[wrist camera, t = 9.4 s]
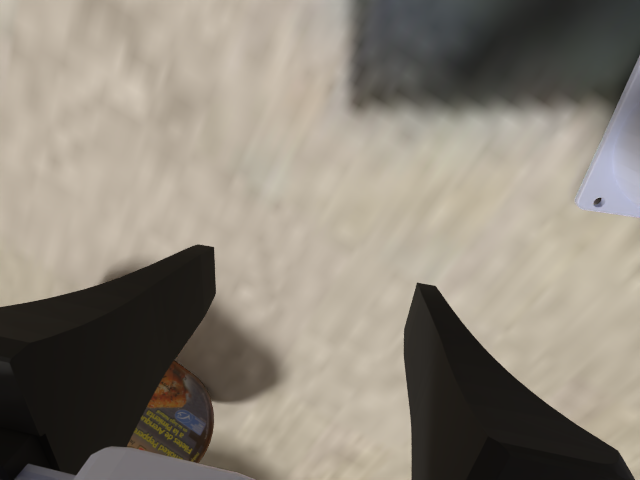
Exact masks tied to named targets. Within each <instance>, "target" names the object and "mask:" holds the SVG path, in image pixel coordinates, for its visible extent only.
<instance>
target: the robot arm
mask: <svg viewBox="0 0 640 480" xmlns="http://www.w3.org/2000/svg"><path fill="white" fill-rule="evenodd" d="M598 198H601V201H600V202H599V203H598V204H595V205H593V203H594V201H595V200H596V199H598ZM575 204H576V205H577V206H578V207H579V208H580V209H583V210H589V211H596V212H603V213H610V214H617V215H624V216H631V217H638V218H640V56H639V58H638V60H637V62H636V65H635V67H634V69H633V71H632V73H631V76H630V78H629V80H628V82H627V84H626V87H625V89H624V91H623V93H622V95H621V98H620V100H619V102H618V104H617V107H616V109H615V111H614V113H613V115H612V118H611V120H610V122H609V124H608V126H607V129H606V131H605V133H604V135H603V137H602V140H601V142H600V144H599V146H598V148H597V151H596V153H595V155H594V157H593V159H592V162H591V164H590V166H589V168H588V171H587V173H586V175H585V177H584V179H583V182H582V184H581V186H580V188H579V190H578V193H577V195H576V197H575ZM215 294H216V285H215V260H214V247H210V246H204V245H195V246H192V247H190V248H187V249H185V250H183V251H180V252H178V253H176V254H174V255H172V256H169V257H167V258H165V259H163V260H161V261H158V262H156V263H154V264H152V265H150V266H147V267H145V268H142V269H140V270H137V271H135V272H133V273H130V274H128V275H125V276H123V277H120V278H117V279H115V280H112V281H109V282H106V283H103V284H100V285H97V286H94V287H90V288H87V289H84V290H80V291H76V292H72V293H68V294H64V295H60V296H56V297H52V298H48V299H43V300H38V301H33V302H28V303H22V304H17V305H11V306H5V307H0V480H255V479H253V478H250V477H248V476H245V475H243V474H240V473H237V472H233V471H229V470H224V469H220V468H216V467H212V466H207V465H203V464H199V463H195V462H190V461H186V460H182V459H178V458H173V457H169V456H165V455H161V454H156V453H152V452H148V451H143V450H139V449H135V448H129V447H127V445H128V443H129V441H130V439H131V437H132V435H133V433H134V431H135V429H136V427H137V425H138V423H139V421H140V419H141V417H142V415H143V413H144V411H145V409H146V407H147V406H148V404H149V402H150V400H151V398H152V396H153V394H154V393H155V391H156V389H157V387H158V385H159V384H160V382H161V380H162V378H163V376H164V375H165V373H166V372H167V370H168V369H169V367H170V365H171V364H172V363H173V361H174V360H175V358H176V357H177V355H178V354H179V353H180V351H181V350H182V348H183V347H184V345H185V344H186V343H187V341H188V340H189V338H190V337H191V335H192V334H193V333H194V331H195V330H196V328H197V327H198V325H199V324H200V322H201V321H202V319H203V318H204V316H205V314H206V313H207V311H208V309H209V307H210V305H211V303H212V301H213V299H214V296H215ZM404 362H405V371H406V380H407V389H408V398H409V407H410V415H411V432H412V480H635V479H634V477H633V475H632V474H631V472H630V470H629V468H628V467H627V465H626V463H625V461H624V460H623V458H622V457H621V455H620V453H619V452H618V450H616V449H614V448H613V447H611V446H610V445H608V444H606V443H605V442H603V441H602V440H600V439H599V438H597V437H595V436H594V435H592V434H591V433H589V432H587V431H586V430H584V429H583V428H581V427H579V426H578V425H576V424H575V423H573V422H572V421H570V420H569V419H568V418H566V417H565V416H563V415H562V414H561V413H559V412H558V411H556V410H555V409H554V408H552V407H551V406H549V405H548V404H547V403H545V402H544V401H543V400H542V399H540V398H539V397H538V396H536V395H535V394H534V393H533V392H531V391H530V390H529V389H528V388H527V387H525V386H524V385H523V384H522V383H520V382H519V381H518V380H517V379H516V378H515V377H513V376H512V375H511V374H510V373H509V372H508V371H507V370H506V369H505V368H504V367H503V366H502V365H501V364H500V363H498V362H497V361H496V360H495V359H494V358H493V357H492V356H491V355H490V354H489V353H488V352H487V351H486V350H485V348H484V347H483V346H482V345H481V344H480V343H479V342H478V341H477V340H476V338H475V337H474V336H473V335H472V334H471V333H470V331H469V330H468V329H467V328H466V327H465V325H464V324H463V323H462V322H461V320H460V319H459V318H458V316H457V315H456V314H455V312H454V311H453V310H452V308H451V307H450V306H449V304H448V303H447V301H446V300H445V299H444V297H443V296H442V294H441V293H440V292H439V290H438V289H437V287H436V286H433V285H427V284H421V283H417V285H416V289H415V292H414V296H413V300H412V303H411V307H410V310H409V314H408V318H407V321H406V325H405V329H404Z"/></svg>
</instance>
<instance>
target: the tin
mask: <svg viewBox="0 0 640 480" xmlns="http://www.w3.org/2000/svg"><path fill="white" fill-rule="evenodd" d="M213 427H214V412H213V407H212V403H211V399H210V396H209V394H208V392H207V390H206V388H205V387H204V385H203V384H202V383H201V381H200V380H199V379H198V378H197V377H196V376H195V375H193V374H192V373H191V372H189V371H188V370H187V369H185V368H184V367H183V366H181V365H180V364H178V363H177V362H176V361H173V363H172V364H171V365H170V367H169V369H168V370H167V372H166V373H165V375H164V376H163V378H162V380H161V382H160V384H159V385H158V387H157V389H156V391H155V393H154V394H153V396H152V398H151V400H150V402H149V404H148V406H147V407H146V409H145V411H144V413H143V415H142V417H141V419H140V421H139V423H138V425H137V427H136V429H135V431H134V433H133V435H132V437H131V439H130V441H129V443H128V445H127V447H129V448H135V449H139V450H143V451H148V452H152V453H156V454H161V455H165V456H169V457H173V458H178V459H182V460H186V461H190V462H195V463H199V461H200V460H201V459H202V457H203V456H204V454H205V452H206V451H207V448H208V446H209V444H210V441H211V437H212V434H213Z"/></svg>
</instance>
